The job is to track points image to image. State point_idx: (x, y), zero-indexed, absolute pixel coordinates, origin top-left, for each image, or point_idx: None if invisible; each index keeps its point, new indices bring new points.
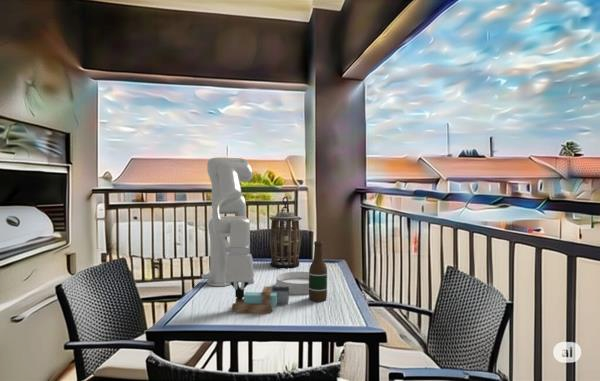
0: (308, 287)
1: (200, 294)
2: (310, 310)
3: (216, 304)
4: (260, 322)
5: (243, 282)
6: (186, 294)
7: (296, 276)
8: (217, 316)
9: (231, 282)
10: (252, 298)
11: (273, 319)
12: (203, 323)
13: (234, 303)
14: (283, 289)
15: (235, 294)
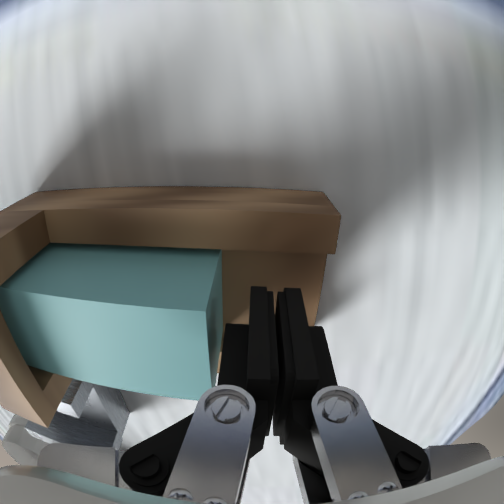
0: (17, 430)
1: (450, 424)
2: None
3: (421, 345)
4: (70, 12)
5: (189, 496)
6: (488, 410)
7: None
8: (425, 115)
9: (423, 475)
10: (110, 281)
11: (7, 87)
12: (473, 10)
13: (319, 251)
14: (47, 428)
15: (326, 344)
